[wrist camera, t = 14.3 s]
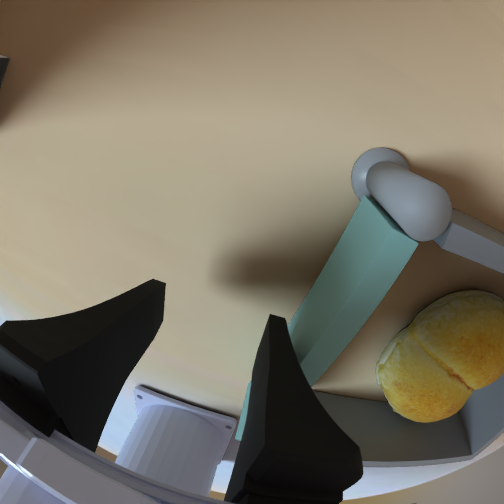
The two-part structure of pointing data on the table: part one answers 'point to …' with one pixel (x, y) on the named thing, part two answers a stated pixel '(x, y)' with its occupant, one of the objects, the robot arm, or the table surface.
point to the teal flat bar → (364, 265)
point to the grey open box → (381, 413)
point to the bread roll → (444, 356)
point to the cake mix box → (3, 66)
